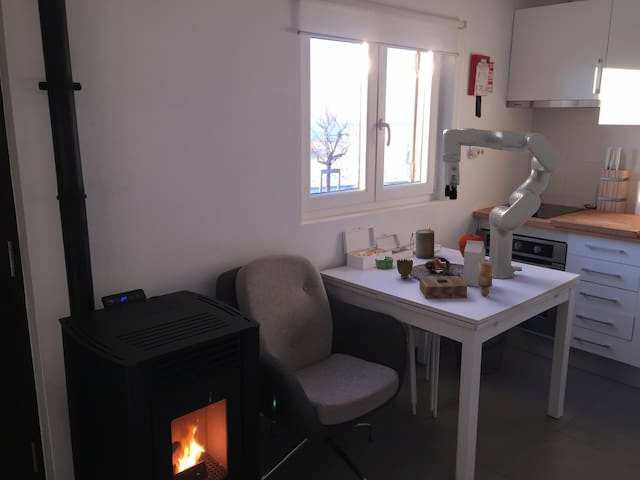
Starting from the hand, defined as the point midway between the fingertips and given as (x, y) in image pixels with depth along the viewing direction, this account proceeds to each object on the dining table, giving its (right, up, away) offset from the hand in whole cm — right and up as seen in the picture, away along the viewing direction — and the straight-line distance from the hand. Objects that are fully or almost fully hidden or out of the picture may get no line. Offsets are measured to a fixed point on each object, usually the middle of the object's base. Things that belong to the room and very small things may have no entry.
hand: (450, 198), depth 236 cm
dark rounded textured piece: (-19, -36, +10) cm, 41 cm away
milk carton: (+9, -37, -2) cm, 39 cm away
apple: (+18, -29, +35) cm, 49 cm away
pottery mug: (-3, -34, +17) cm, 38 cm away
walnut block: (-7, -40, -13) cm, 43 cm away
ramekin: (-25, -32, +29) cm, 50 cm away
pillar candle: (-2, -27, +46) cm, 53 cm away
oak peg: (+9, -41, -18) cm, 45 cm away
